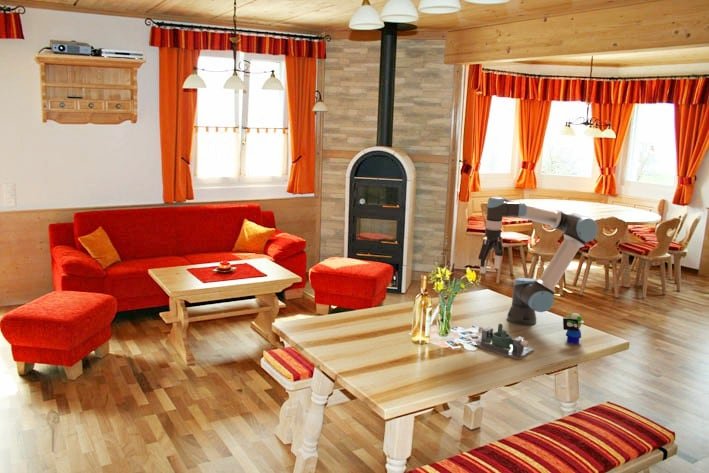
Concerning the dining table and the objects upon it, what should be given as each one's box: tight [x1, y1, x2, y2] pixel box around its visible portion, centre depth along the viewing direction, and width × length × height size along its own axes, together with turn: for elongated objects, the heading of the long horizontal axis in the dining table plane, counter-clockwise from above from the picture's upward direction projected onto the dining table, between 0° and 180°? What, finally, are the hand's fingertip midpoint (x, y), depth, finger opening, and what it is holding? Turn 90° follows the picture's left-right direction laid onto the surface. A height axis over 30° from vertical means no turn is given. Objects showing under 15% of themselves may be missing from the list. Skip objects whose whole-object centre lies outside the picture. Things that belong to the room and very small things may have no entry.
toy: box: [562, 312, 585, 345], centre depth 303 cm, size 9×9×15 cm
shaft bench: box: [473, 326, 535, 361], centre depth 293 cm, size 15×25×7 cm, turn 47°
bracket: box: [492, 323, 513, 348], centre depth 293 cm, size 9×9×9 cm
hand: (489, 270), depth 309 cm, fingers open, 13 cm apart
